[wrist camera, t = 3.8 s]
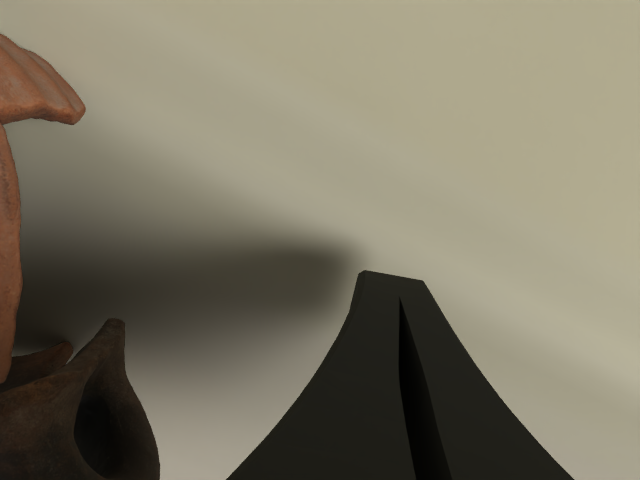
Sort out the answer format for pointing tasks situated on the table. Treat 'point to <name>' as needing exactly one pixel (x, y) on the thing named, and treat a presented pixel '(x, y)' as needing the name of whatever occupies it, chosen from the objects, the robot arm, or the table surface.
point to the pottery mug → (50, 365)
